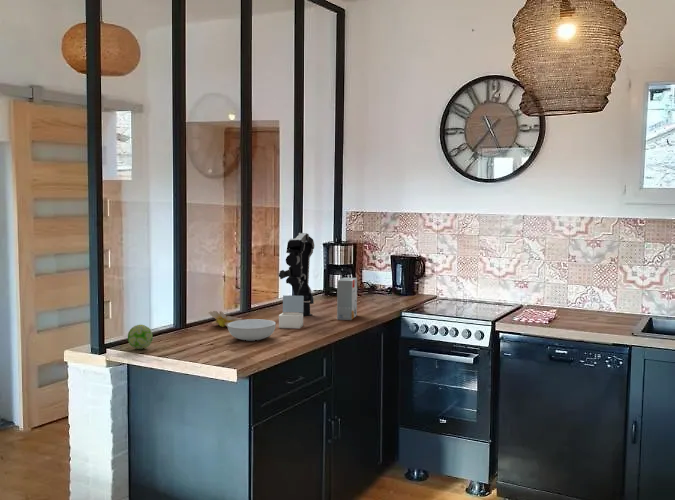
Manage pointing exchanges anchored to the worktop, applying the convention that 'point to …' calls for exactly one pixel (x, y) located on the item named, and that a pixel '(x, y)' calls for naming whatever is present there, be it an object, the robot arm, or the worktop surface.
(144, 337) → the decorative ball
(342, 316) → the hard drive box
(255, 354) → the worktop surface
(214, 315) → the decorative flower
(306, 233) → the robot arm
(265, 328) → the serving bowl
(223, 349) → the worktop surface
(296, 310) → the lid
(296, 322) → the keepsake box
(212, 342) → the worktop surface
